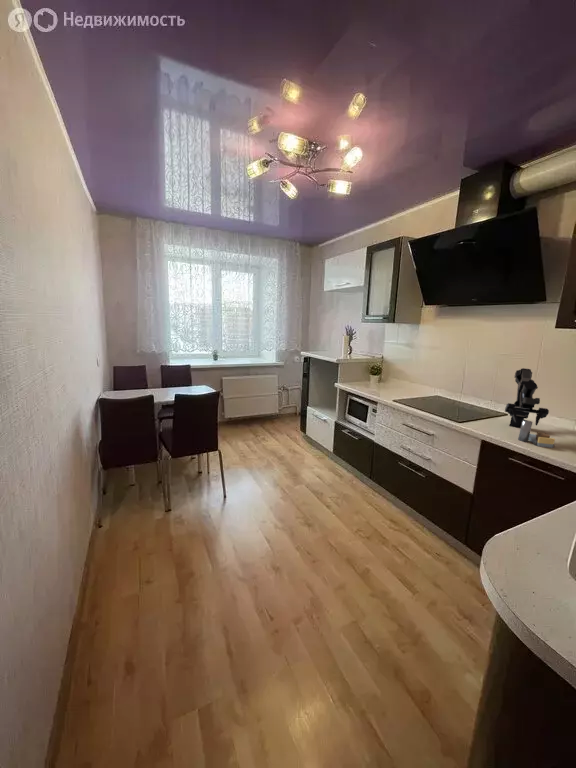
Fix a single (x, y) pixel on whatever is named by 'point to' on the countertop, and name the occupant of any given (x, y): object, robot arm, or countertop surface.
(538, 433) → the collected block
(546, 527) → the countertop surface
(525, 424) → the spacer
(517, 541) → the countertop surface
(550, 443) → the cart
